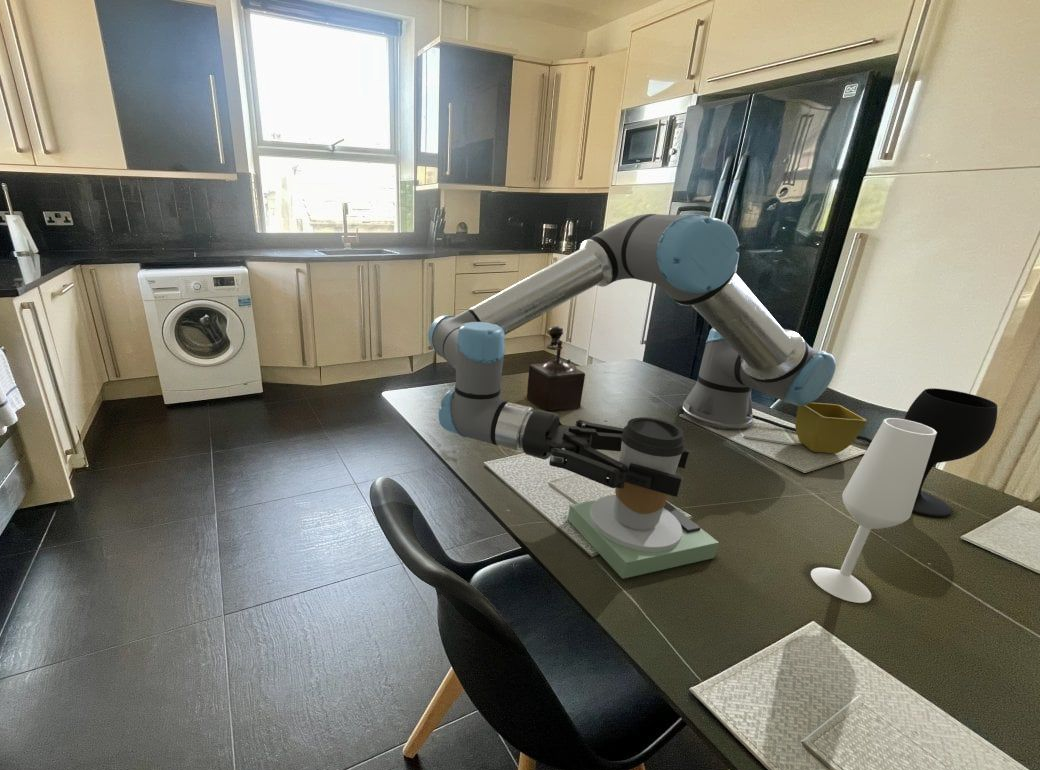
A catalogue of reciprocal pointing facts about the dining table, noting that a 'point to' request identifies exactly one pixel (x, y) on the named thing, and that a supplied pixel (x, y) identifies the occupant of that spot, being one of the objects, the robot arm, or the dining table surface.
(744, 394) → the robot arm
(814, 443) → the flower pot
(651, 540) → the kitchen scale
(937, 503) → the wine glass
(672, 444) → the coffee cup
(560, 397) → the brown coffee grinder
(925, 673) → the dining table surface
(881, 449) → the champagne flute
